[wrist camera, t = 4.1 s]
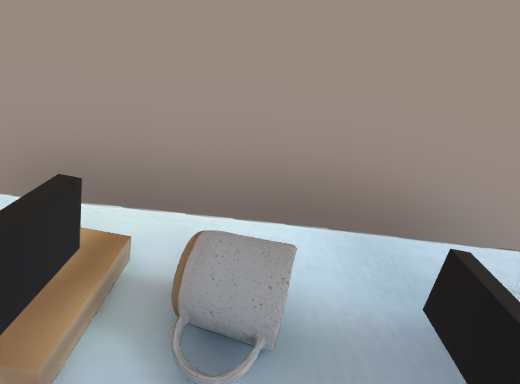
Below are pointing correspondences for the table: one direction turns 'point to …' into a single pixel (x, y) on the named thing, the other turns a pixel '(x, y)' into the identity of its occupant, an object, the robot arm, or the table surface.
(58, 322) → the board
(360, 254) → the table surface
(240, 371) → the ceramic mug
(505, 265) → the table surface
